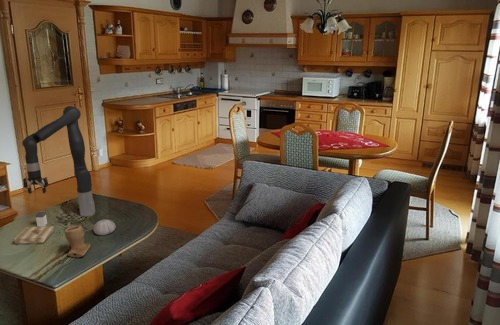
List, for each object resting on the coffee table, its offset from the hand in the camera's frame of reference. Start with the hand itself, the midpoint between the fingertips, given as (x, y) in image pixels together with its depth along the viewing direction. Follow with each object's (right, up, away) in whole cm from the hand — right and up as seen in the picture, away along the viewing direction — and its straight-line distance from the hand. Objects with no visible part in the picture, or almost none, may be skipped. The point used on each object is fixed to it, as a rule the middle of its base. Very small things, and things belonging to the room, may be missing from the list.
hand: (37, 193), depth 261 cm
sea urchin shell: (+45, -24, -5) cm, 51 cm away
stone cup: (+39, -31, -30) cm, 58 cm away
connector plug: (0, -21, +6) cm, 22 cm away
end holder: (+5, -27, -13) cm, 30 cm away
